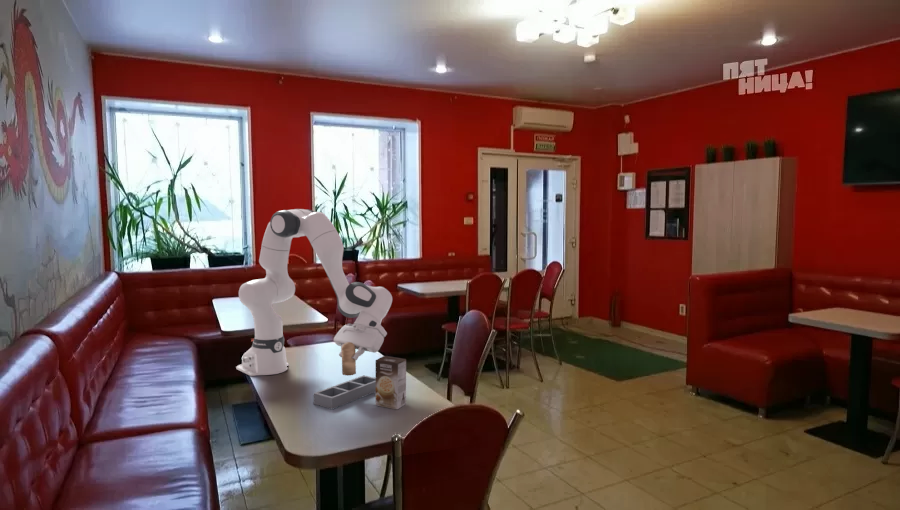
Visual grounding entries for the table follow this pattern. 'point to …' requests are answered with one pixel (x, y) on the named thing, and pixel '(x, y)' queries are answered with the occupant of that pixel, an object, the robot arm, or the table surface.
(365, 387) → the grey compartment tray
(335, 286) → the robot arm
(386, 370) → the coffee box
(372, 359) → the table surface
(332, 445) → the table surface
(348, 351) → the tan domed cylinder
